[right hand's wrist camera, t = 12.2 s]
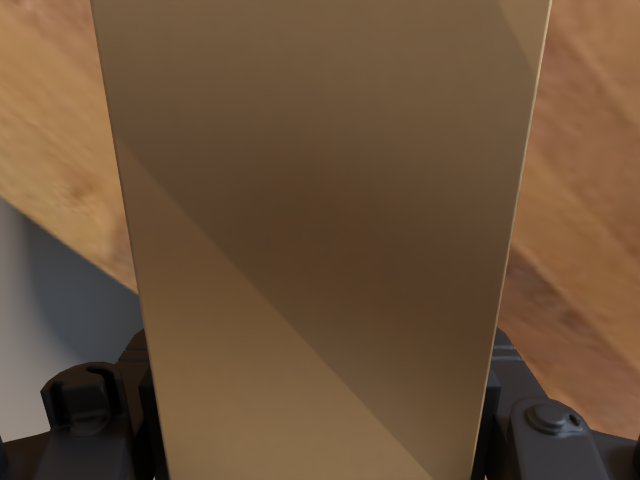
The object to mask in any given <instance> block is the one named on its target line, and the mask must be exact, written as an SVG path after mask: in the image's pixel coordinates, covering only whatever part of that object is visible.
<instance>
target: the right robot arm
mask: <svg viewBox="0 0 640 480" xmlns="http://www.w3.org/2000/svg"><path fill="white" fill-rule="evenodd" d="M40 393H41V396H42V400H43V403H44V407H45V410H46V413H47V417H48V420H49V424H50V427H51V429H50V431H48V432H45V433H42V434H38V435H35V436H30V437H26V438H21V439H17V440H13V441H9V442H4V443H3V442H2V439H1V436H0V480H153V478H154V476H155V480H169V475H168V469H167V463H166V457H165V451H164V445H163V439H162V433H161V427H160V421H159V415H158V409H157V403H156V396H155V390H154V384H153V378H152V372H151V366H150V360H149V354H148V348H147V342H146V336H145V330H144V328H143V329H142V330H141V331H139V332H138V333H137V334H135V335H134V337H133V338H132V340H131V341H130V343H129V344H128V346H127V347H126V351H124V352H123V353H122V355H121V356H120V358H119V359H118V362H116V364H111V363H107V362H89V363H85V364H80V365H76V366H73V367H71V368H69V369H67V370H64V371H62V372H60V373H59V374H57V375H56V376H55V377H53V378H52V379H50V380H49V381H48V382H47V383H46V384H45V386H44V387H43V388H42V390H41V391H40ZM485 474H486V477H487V480H640V435H639V438H638V441H635V440H631V439H627V438H622V437H618V436H614V435H609V434H605V433H601V432H598V431H594V430H591V429H590V428H589V427H588V425H587V424H586V422H585V421H584V419H583V417H581V416H580V415H579V414H578V413H577V412H575V411H574V410H573V409H572V408H570V407H568V406H566V405H564V404H562V403H561V402H559V401H556V400H553V399H549V398H548V396H547V395H546V393H545V392H544V390H543V389H542V387H541V386H540V384H539V383H538V381H537V380H536V378H535V377H534V375H533V374H532V372H531V371H530V369H529V368H528V366H527V365H526V363H525V362H524V361H522V358H521V356H520V355H519V353H518V352H517V350H516V349H514V346H513V344H512V343H511V341H510V340H509V338H508V337H507V335H506V334H505V333H504V332H503V331H501V330H500V329H499V328H497V327H496V333H495V339H494V344H493V350H492V356H491V362H490V368H489V374H488V380H487V385H486V391H485V397H484V403H483V409H482V415H481V421H480V427H479V432H478V438H477V444H476V450H475V456H474V462H473V468H472V473H471V479H470V480H484V479H485Z"/></svg>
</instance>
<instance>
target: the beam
mask: <svg viewBox="0 0 640 480" xmlns="http://www.w3.org/2000/svg"><path fill="white" fill-rule="evenodd" d="M90 3H91V9H92V15H93V21H94V27H95V33H96V39H97V46H98V52H99V58H100V64H101V70H102V76H103V82H104V88H105V94H106V100H107V106H108V112H109V118H110V124H111V130H112V136H113V142H114V148H115V154H116V160H117V167H118V173H119V179H120V185H121V191H122V197H123V203H124V209H125V215H126V221H127V227H128V233H129V239H130V245H131V251H132V257H133V263H134V269H135V275H136V282H137V288H138V294H139V300H140V306H141V312H142V318H143V324H144V330H145V336H146V342H147V348H148V354H149V360H150V366H151V372H152V378H153V384H154V390H155V396H156V403H157V409H158V415H159V421H160V427H161V433H162V439H163V445H164V451H165V457H166V463H167V469H168V475H169V480H470V479H471V473H472V468H473V462H474V456H475V450H476V444H477V438H478V432H479V427H480V421H481V415H482V409H483V403H484V397H485V391H486V385H487V380H488V374H489V368H490V362H491V356H492V350H493V344H494V339H495V333H496V327H497V321H498V315H499V309H500V303H501V297H502V292H503V286H504V280H505V274H506V268H507V262H508V256H509V251H510V245H511V239H512V233H513V227H514V221H515V215H516V209H517V204H518V198H519V192H520V186H521V180H522V174H523V168H524V163H525V157H526V151H527V145H528V139H529V133H530V127H531V121H532V116H533V110H534V104H535V98H536V92H537V86H538V80H539V75H540V69H541V63H542V57H543V51H544V45H545V39H546V34H547V28H548V22H549V16H550V10H551V4H552V0H90Z"/></svg>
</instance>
